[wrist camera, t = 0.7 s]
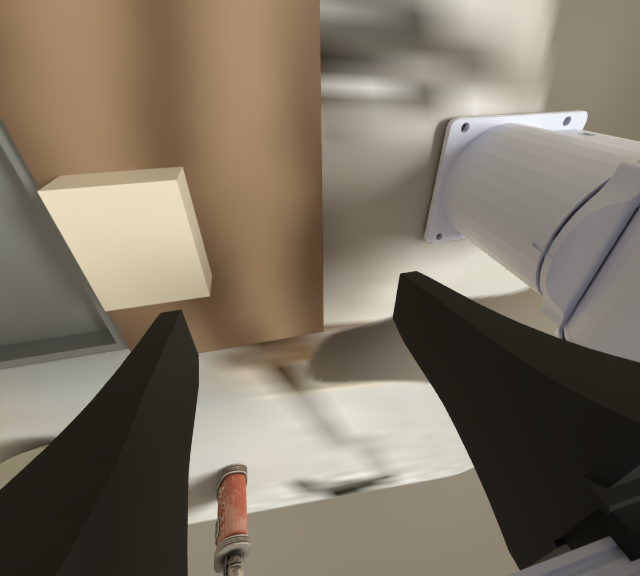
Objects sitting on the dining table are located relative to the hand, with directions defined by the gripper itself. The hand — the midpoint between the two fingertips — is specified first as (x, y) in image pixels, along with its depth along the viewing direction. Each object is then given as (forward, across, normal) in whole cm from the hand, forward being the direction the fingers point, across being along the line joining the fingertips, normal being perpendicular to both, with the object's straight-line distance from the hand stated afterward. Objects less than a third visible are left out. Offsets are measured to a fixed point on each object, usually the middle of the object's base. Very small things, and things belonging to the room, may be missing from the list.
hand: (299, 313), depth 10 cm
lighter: (+11, +8, +34) cm, 37 cm away
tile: (+8, +6, 0) cm, 10 cm away
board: (+10, +3, 0) cm, 11 cm away
